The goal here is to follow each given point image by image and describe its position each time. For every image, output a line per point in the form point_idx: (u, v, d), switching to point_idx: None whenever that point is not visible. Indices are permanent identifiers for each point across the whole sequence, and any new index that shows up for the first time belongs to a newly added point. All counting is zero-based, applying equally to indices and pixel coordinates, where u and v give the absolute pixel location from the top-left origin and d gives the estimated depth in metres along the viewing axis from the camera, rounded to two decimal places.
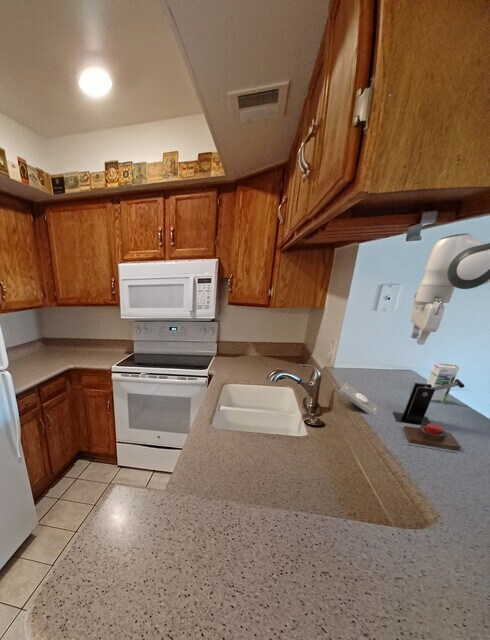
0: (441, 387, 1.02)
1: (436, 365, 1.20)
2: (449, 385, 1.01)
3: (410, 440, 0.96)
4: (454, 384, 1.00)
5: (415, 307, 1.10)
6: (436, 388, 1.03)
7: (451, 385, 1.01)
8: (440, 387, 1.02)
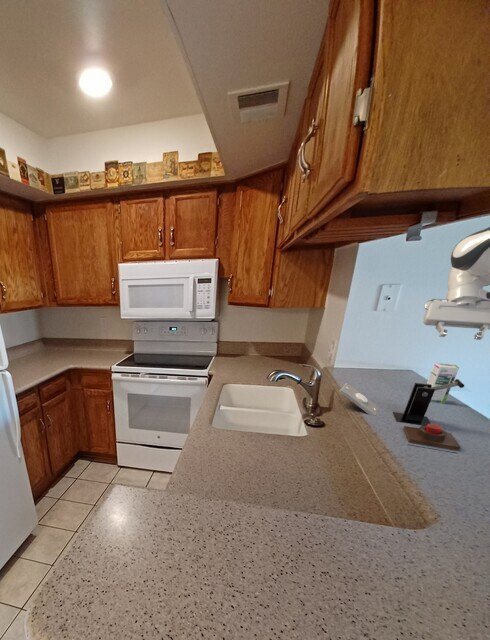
0: (441, 387, 1.02)
1: (436, 365, 1.20)
2: (449, 385, 1.01)
3: (410, 440, 0.96)
4: (454, 384, 1.00)
5: None
6: (436, 388, 1.03)
7: (451, 385, 1.01)
8: (440, 387, 1.02)
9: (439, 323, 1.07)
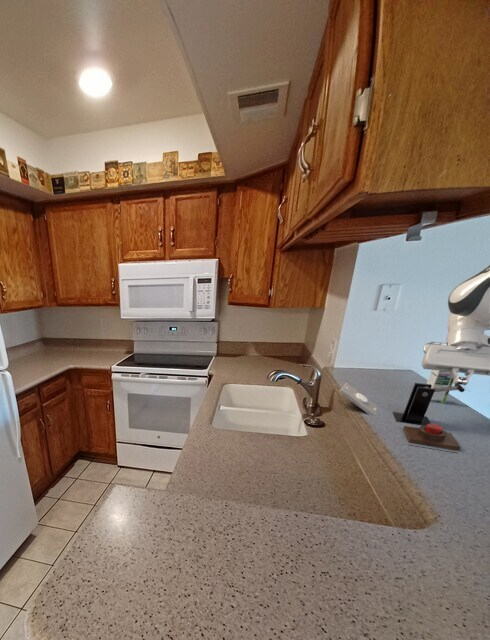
0: (441, 389, 1.02)
1: None
2: (449, 387, 1.01)
3: (410, 440, 0.96)
4: (454, 388, 1.01)
5: None
6: (436, 390, 1.03)
7: (451, 388, 1.01)
8: (440, 389, 1.02)
9: (453, 369, 1.01)
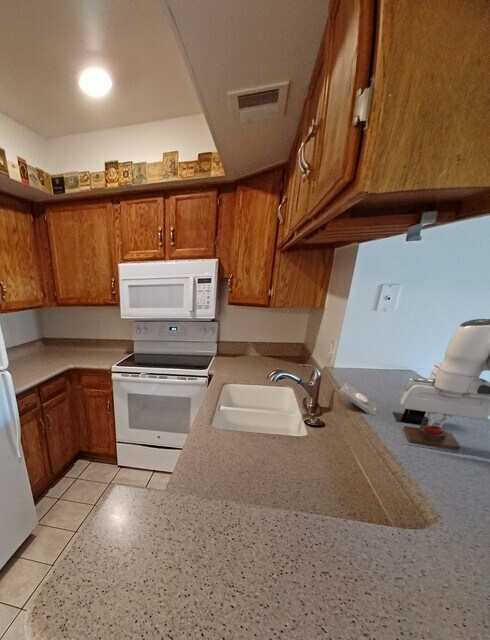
0: None
1: (436, 365, 1.20)
2: None
3: (410, 440, 0.96)
4: None
5: None
6: None
7: None
8: None
9: (430, 414, 0.94)
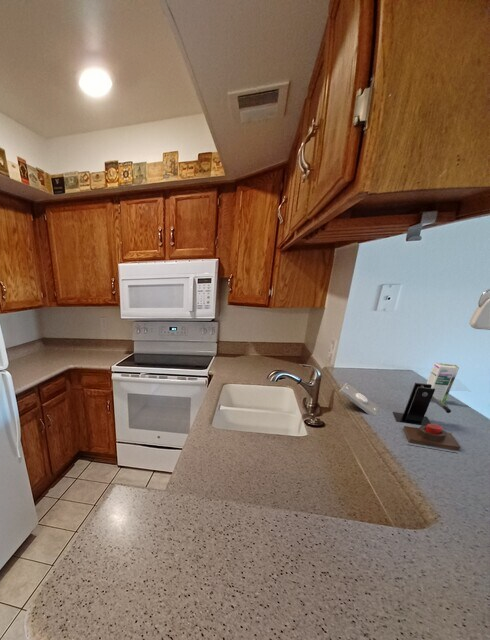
0: (435, 400, 1.04)
1: (436, 365, 1.20)
2: (441, 403, 1.04)
3: (410, 440, 0.96)
4: (444, 406, 1.04)
5: None
6: (432, 397, 1.04)
7: (442, 405, 1.04)
8: (435, 399, 1.04)
9: None
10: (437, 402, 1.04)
